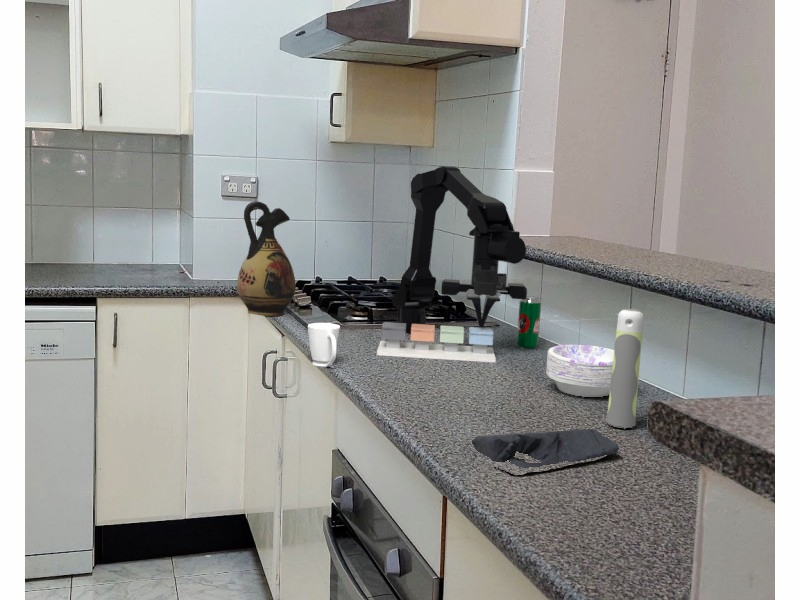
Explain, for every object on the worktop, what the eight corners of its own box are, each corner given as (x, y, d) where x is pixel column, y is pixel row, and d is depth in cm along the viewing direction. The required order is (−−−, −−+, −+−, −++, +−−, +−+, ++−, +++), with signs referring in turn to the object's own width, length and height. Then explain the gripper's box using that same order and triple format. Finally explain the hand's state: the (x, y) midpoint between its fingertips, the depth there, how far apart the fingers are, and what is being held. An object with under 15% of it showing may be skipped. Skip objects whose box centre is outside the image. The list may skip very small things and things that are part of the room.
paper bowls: (576, 405, 160) (579, 363, 158) (529, 384, 173) (532, 345, 172) (641, 399, 166) (645, 359, 165) (591, 380, 180) (595, 342, 178)
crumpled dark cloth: (634, 467, 129) (637, 436, 128) (506, 482, 120) (508, 449, 119) (573, 435, 143) (575, 407, 142) (454, 447, 134) (456, 417, 133)
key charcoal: (381, 338, 195) (382, 326, 194) (382, 334, 200) (383, 322, 200) (404, 339, 195) (405, 327, 194) (405, 335, 200) (406, 323, 199)
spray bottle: (603, 427, 146) (614, 310, 143) (607, 420, 151) (618, 306, 148) (633, 432, 145) (645, 313, 142) (636, 424, 149) (647, 309, 146)
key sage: (439, 342, 194) (440, 329, 194) (439, 337, 199) (440, 325, 199) (463, 343, 194) (464, 331, 194) (462, 338, 199) (463, 326, 199)
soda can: (537, 349, 207) (541, 299, 205) (515, 347, 208) (519, 298, 206) (538, 345, 212) (541, 296, 210) (517, 343, 213) (520, 295, 211)
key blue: (469, 343, 194) (469, 331, 194) (468, 339, 199) (469, 327, 199) (492, 345, 194) (493, 332, 193) (491, 340, 199) (492, 328, 199)
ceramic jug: (284, 308, 246) (287, 200, 241) (302, 318, 232) (306, 204, 227) (224, 309, 238) (226, 199, 234) (239, 319, 224) (242, 202, 220)
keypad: (376, 355, 192) (377, 338, 191) (380, 344, 204) (381, 328, 203) (495, 362, 191) (496, 345, 190) (492, 350, 203) (493, 334, 202)
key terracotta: (410, 340, 195) (411, 327, 194) (411, 335, 200) (412, 323, 199) (433, 341, 194) (434, 329, 194) (434, 337, 200) (434, 325, 199)
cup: (332, 359, 186) (333, 322, 185) (349, 370, 177) (351, 331, 176) (300, 361, 183) (302, 323, 182) (317, 372, 174) (318, 332, 173)
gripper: (443, 259, 186) (439, 331, 189) (531, 264, 185) (526, 336, 188) (443, 254, 197) (439, 322, 200) (526, 259, 196) (521, 327, 199)
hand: (481, 327), depth 196 cm, fingers closed
